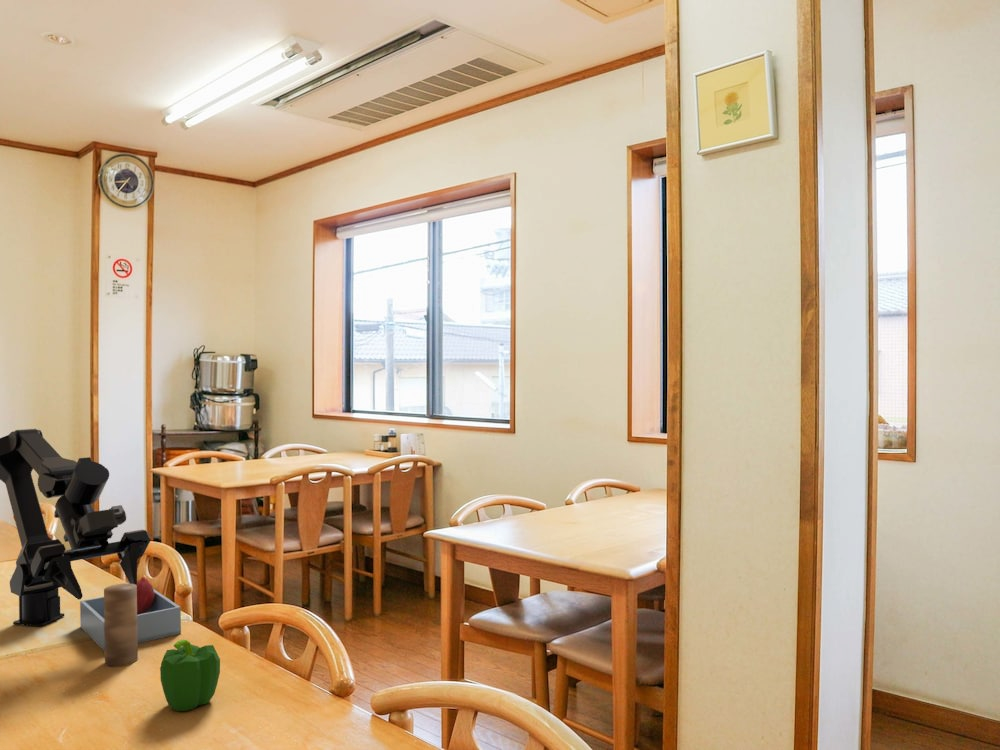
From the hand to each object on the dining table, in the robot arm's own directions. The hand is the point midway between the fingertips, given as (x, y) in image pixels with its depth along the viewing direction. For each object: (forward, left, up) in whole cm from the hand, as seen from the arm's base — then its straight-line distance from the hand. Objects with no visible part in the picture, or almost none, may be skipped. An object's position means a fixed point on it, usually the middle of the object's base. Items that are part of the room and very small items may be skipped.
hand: (108, 591), depth 135 cm
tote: (-5, +12, -11) cm, 17 cm away
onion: (-7, +16, -10) cm, 21 cm away
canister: (+4, -2, -11) cm, 12 cm away
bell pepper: (+25, -16, -11) cm, 32 cm away
